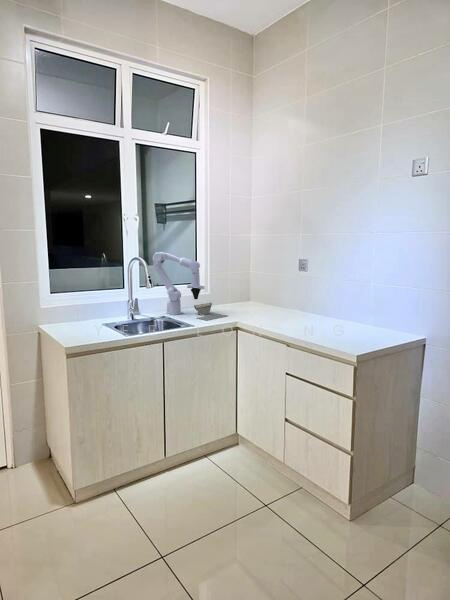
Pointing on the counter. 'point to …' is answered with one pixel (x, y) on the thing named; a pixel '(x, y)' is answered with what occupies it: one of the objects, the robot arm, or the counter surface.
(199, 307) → the food container
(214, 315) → the mat
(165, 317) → the counter surface
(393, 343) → the counter surface
